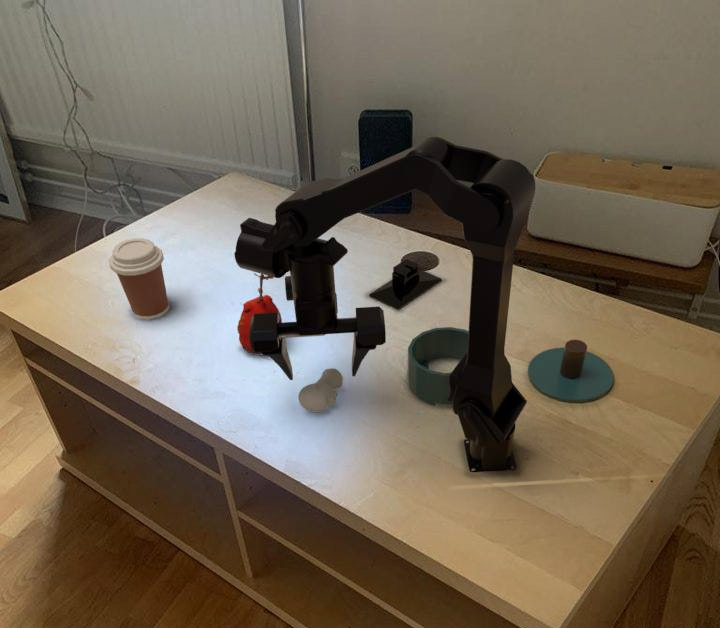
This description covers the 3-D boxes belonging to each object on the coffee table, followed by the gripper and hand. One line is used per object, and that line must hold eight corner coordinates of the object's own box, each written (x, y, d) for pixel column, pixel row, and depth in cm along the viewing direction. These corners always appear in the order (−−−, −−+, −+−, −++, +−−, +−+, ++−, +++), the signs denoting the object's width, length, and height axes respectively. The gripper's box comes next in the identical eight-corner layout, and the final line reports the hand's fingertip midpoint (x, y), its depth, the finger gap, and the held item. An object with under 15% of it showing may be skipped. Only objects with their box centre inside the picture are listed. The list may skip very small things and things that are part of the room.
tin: (489, 404, 108) (493, 372, 104) (411, 408, 108) (412, 377, 104) (477, 356, 116) (481, 325, 112) (405, 360, 116) (405, 329, 112)
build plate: (398, 311, 126) (397, 287, 123) (367, 296, 130) (366, 273, 126) (442, 280, 132) (443, 257, 129) (411, 267, 136) (411, 244, 132)
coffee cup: (140, 292, 134) (122, 232, 125) (185, 298, 132) (169, 237, 123) (116, 320, 128) (95, 259, 119) (162, 327, 126) (144, 265, 117)
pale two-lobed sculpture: (316, 425, 108) (291, 404, 110) (350, 396, 112) (326, 377, 113) (320, 408, 105) (294, 387, 106) (355, 379, 109) (330, 359, 110)
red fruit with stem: (268, 327, 124) (255, 248, 113) (295, 344, 121) (284, 263, 110) (233, 347, 121) (216, 267, 110) (259, 365, 117) (245, 284, 106)
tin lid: (622, 403, 107) (632, 370, 103) (536, 408, 107) (542, 375, 103) (599, 351, 116) (607, 318, 112) (519, 355, 116) (524, 323, 112)
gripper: (379, 248, 101) (382, 340, 112) (246, 256, 101) (262, 347, 112) (385, 292, 93) (386, 386, 105) (241, 300, 93) (258, 393, 105)
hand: (322, 376), depth 107 cm, fingers open, 9 cm apart
